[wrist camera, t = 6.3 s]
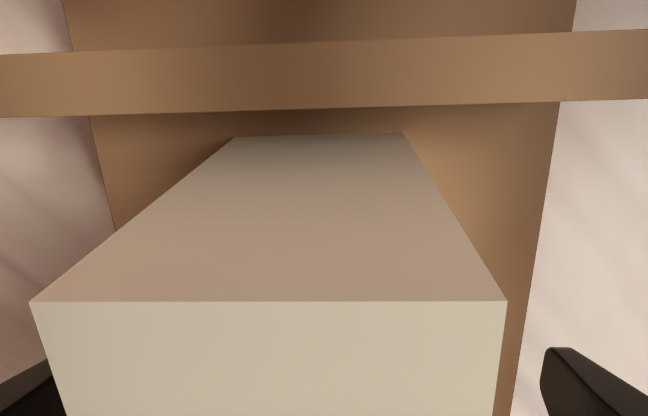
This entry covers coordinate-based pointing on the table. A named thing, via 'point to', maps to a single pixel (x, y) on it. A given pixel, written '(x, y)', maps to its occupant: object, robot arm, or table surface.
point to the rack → (339, 99)
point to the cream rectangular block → (282, 293)
